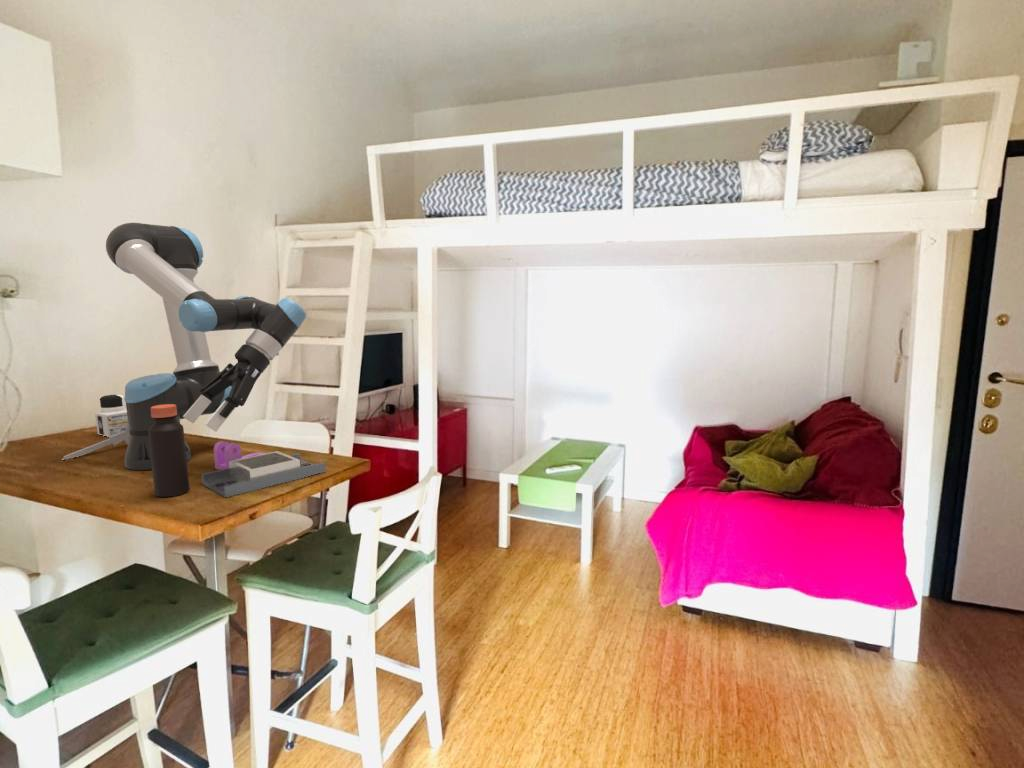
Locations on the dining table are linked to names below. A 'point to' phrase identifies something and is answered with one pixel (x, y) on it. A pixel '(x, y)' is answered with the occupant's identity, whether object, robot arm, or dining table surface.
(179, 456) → the vinegar
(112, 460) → the dining table surface
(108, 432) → the container
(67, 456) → the caliper
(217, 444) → the bracket
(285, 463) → the grey base plate
